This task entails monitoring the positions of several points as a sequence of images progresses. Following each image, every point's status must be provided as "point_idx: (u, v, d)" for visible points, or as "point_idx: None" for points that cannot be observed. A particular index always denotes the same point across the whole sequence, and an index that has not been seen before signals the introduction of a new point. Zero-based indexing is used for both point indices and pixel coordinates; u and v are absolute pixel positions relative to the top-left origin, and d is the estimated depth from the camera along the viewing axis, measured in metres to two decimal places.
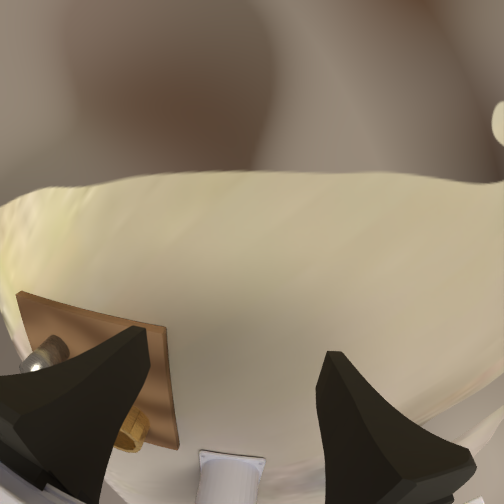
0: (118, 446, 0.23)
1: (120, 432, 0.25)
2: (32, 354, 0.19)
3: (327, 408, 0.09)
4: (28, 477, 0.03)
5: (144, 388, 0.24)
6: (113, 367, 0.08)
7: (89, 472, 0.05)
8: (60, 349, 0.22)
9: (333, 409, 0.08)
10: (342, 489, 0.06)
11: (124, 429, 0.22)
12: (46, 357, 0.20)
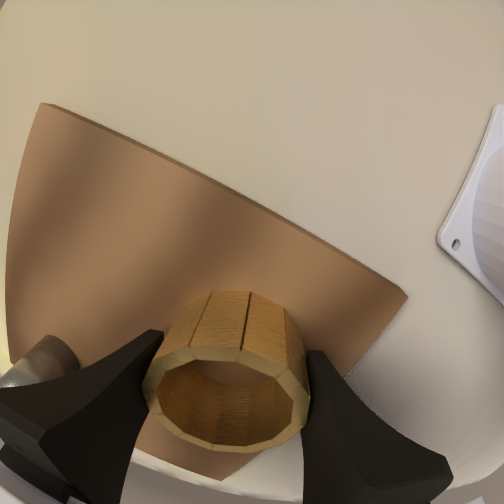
0: (276, 434, 0.08)
1: (267, 401, 0.11)
2: None
3: None
4: (28, 477, 0.03)
5: (135, 218, 0.10)
6: (133, 373, 0.08)
7: (110, 481, 0.05)
8: (41, 344, 0.11)
9: (311, 409, 0.08)
10: (316, 491, 0.06)
11: (173, 349, 0.08)
12: (15, 365, 0.09)
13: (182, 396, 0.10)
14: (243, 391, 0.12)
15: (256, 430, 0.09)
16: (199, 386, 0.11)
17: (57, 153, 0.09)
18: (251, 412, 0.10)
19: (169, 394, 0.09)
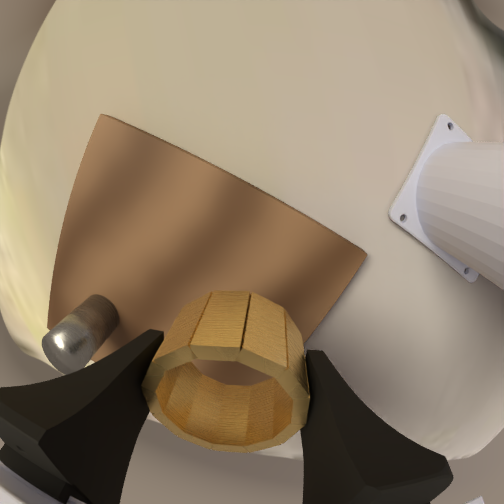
0: (276, 434, 0.08)
1: (267, 401, 0.11)
2: None
3: None
4: (28, 477, 0.03)
5: (178, 199, 0.15)
6: (133, 373, 0.08)
7: (110, 481, 0.05)
8: (88, 301, 0.17)
9: (311, 409, 0.08)
10: (316, 491, 0.06)
11: (173, 349, 0.08)
12: (67, 315, 0.15)
13: (182, 396, 0.10)
14: (243, 391, 0.12)
15: (256, 430, 0.09)
16: (199, 386, 0.11)
17: (117, 152, 0.15)
18: (251, 412, 0.10)
19: (169, 394, 0.09)
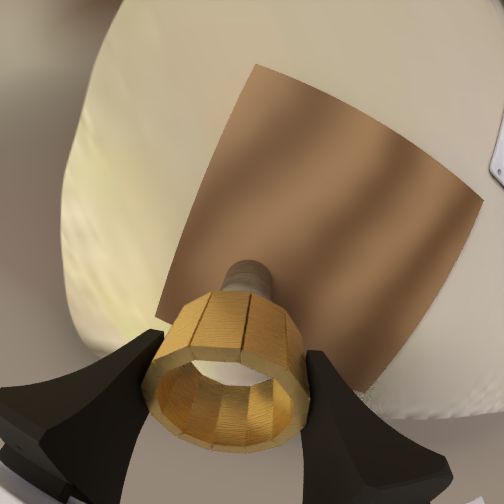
0: (276, 435, 0.08)
1: (267, 402, 0.11)
2: None
3: None
4: (28, 477, 0.03)
5: (351, 149, 0.15)
6: (133, 373, 0.08)
7: (110, 481, 0.05)
8: (243, 266, 0.17)
9: (311, 409, 0.08)
10: (316, 491, 0.06)
11: (173, 350, 0.08)
12: (231, 281, 0.15)
13: (181, 396, 0.10)
14: (243, 391, 0.12)
15: (255, 431, 0.09)
16: (199, 386, 0.11)
17: (282, 102, 0.15)
18: (250, 413, 0.10)
19: (169, 394, 0.09)
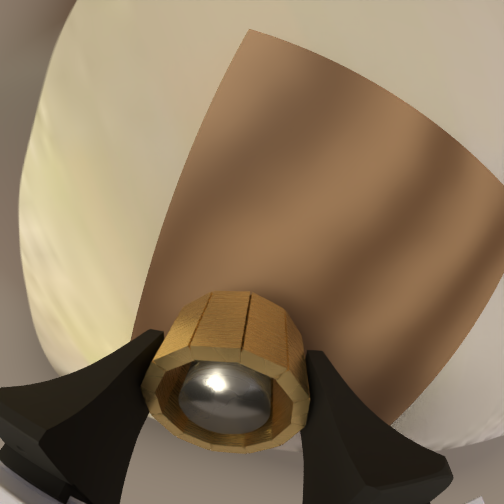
0: (276, 435, 0.08)
1: None
2: None
3: None
4: (28, 477, 0.03)
5: (382, 146, 0.10)
6: (133, 373, 0.08)
7: (110, 481, 0.05)
8: None
9: (311, 409, 0.08)
10: (316, 491, 0.06)
11: (173, 350, 0.08)
12: None
13: None
14: None
15: (255, 431, 0.09)
16: None
17: (286, 78, 0.10)
18: None
19: (169, 394, 0.09)
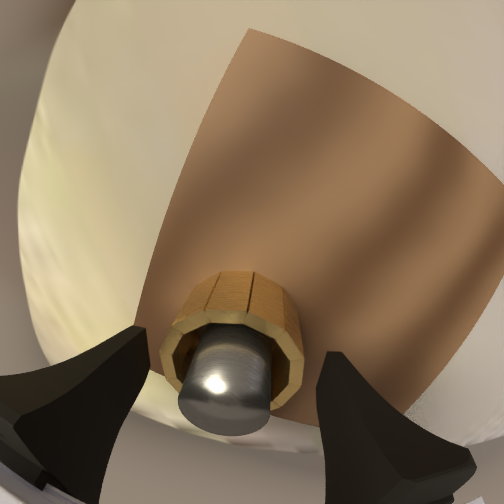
0: (275, 396, 0.10)
1: None
2: None
3: (327, 408, 0.09)
4: (28, 477, 0.03)
5: (383, 146, 0.10)
6: (113, 367, 0.08)
7: (89, 472, 0.05)
8: None
9: (333, 409, 0.08)
10: (342, 489, 0.06)
11: (190, 314, 0.09)
12: (213, 336, 0.10)
13: None
14: None
15: None
16: None
17: (286, 77, 0.10)
18: None
19: (182, 361, 0.11)
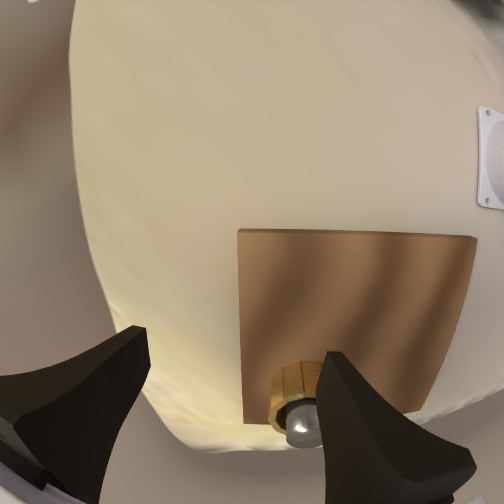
0: None
1: None
2: None
3: (327, 408, 0.09)
4: (28, 477, 0.03)
5: (348, 271, 0.18)
6: (113, 367, 0.08)
7: (89, 472, 0.05)
8: None
9: (333, 409, 0.08)
10: (342, 489, 0.06)
11: (278, 401, 0.18)
12: (292, 405, 0.18)
13: None
14: None
15: None
16: None
17: (276, 258, 0.18)
18: None
19: (280, 418, 0.19)
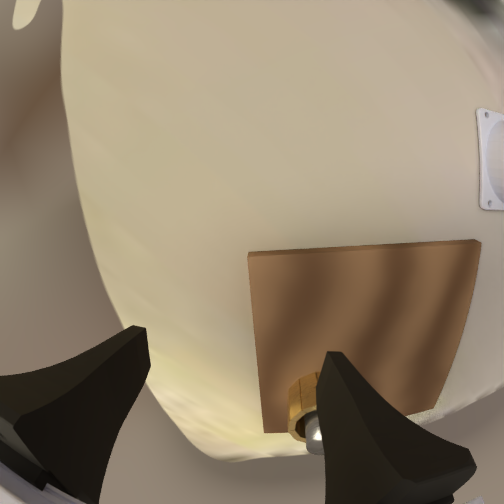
0: None
1: None
2: (305, 432, 0.18)
3: (327, 408, 0.09)
4: (28, 477, 0.03)
5: (357, 285, 0.18)
6: (113, 367, 0.08)
7: (89, 472, 0.05)
8: None
9: (333, 409, 0.08)
10: (342, 489, 0.06)
11: (296, 413, 0.18)
12: (310, 415, 0.18)
13: (304, 425, 0.20)
14: None
15: None
16: None
17: (286, 279, 0.18)
18: None
19: (299, 427, 0.19)
